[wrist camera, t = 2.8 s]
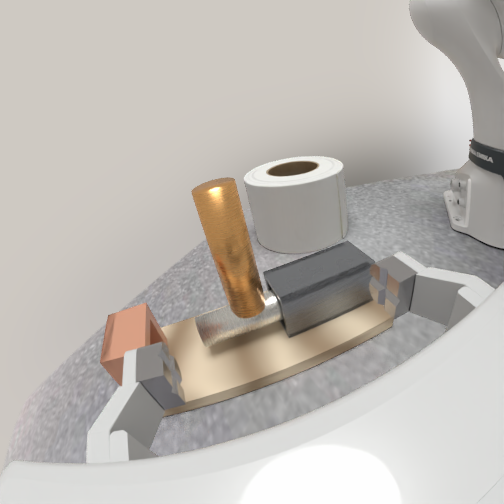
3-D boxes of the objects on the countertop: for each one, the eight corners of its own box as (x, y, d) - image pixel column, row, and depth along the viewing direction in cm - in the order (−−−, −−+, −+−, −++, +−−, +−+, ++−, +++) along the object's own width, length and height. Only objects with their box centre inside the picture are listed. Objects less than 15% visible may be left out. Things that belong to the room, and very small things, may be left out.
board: (338, 273, 34) (338, 263, 33) (392, 326, 25) (394, 315, 24) (133, 346, 30) (127, 338, 29) (132, 423, 21) (124, 416, 20)
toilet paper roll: (367, 227, 42) (363, 162, 37) (289, 267, 38) (275, 192, 32) (311, 203, 55) (302, 151, 50) (242, 231, 51) (228, 174, 45)
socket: (167, 339, 28) (146, 302, 26) (171, 386, 23) (144, 350, 20) (131, 349, 28) (108, 315, 25) (130, 396, 22) (100, 362, 19)
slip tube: (340, 279, 29) (328, 149, 22) (356, 295, 27) (349, 154, 20) (203, 331, 27) (148, 202, 20) (208, 354, 24) (145, 215, 17)
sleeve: (349, 277, 31) (347, 240, 28) (373, 300, 27) (375, 261, 24) (271, 308, 29) (263, 272, 27) (289, 338, 25) (281, 300, 23)
